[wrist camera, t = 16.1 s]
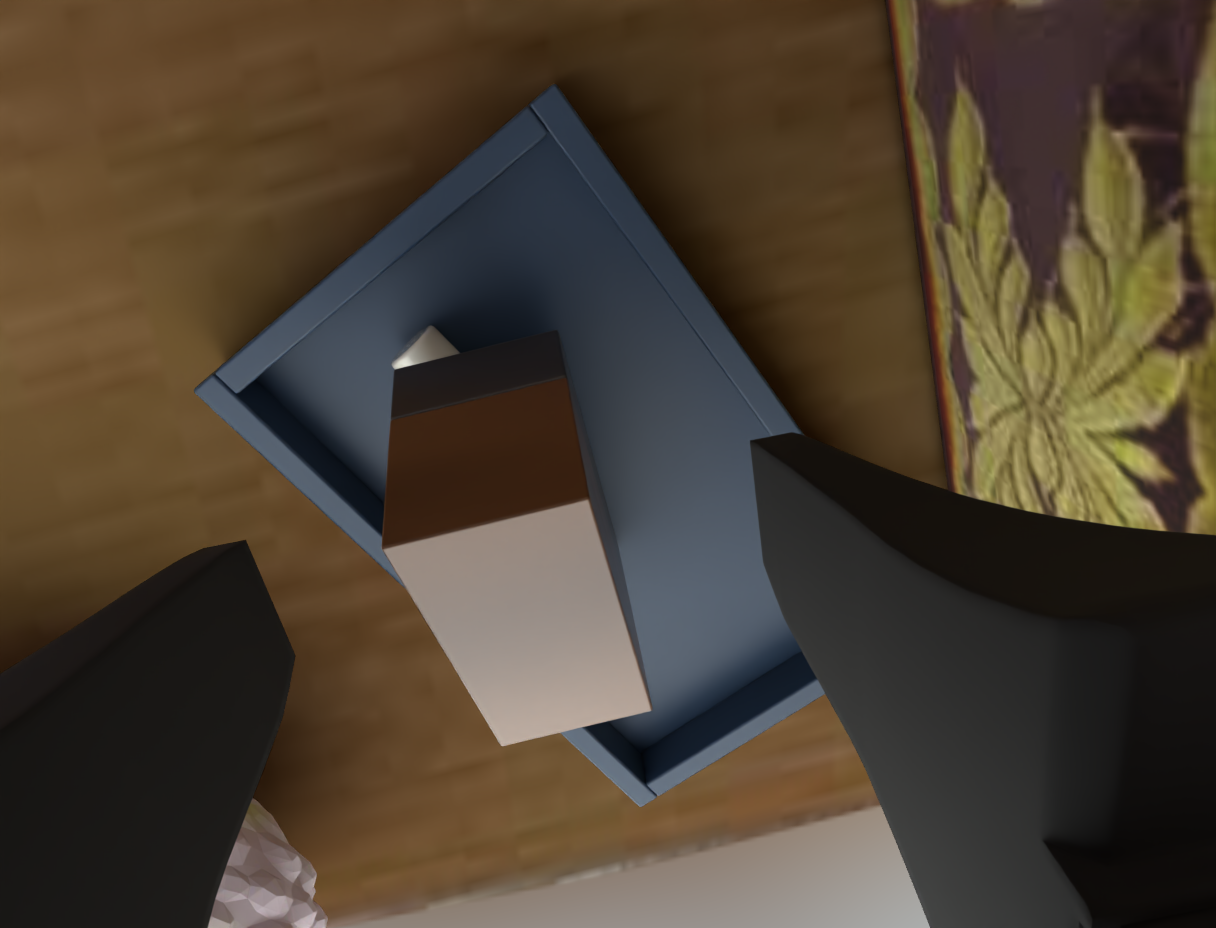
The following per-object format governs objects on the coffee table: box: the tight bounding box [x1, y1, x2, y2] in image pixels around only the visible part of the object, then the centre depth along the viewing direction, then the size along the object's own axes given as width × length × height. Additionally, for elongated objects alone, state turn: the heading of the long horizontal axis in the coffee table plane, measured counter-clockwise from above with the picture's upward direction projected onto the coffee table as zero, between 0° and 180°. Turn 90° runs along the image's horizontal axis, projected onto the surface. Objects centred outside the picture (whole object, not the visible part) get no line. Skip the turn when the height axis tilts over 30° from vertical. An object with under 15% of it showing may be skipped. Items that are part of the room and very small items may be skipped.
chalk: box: [391, 325, 460, 369], centre depth 17 cm, size 1×3×1 cm
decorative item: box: [208, 798, 328, 928], centre depth 19 cm, size 9×11×10 cm
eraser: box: [381, 330, 653, 746], centre depth 16 cm, size 6×3×4 cm, turn 13°
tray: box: [194, 84, 825, 807], centre depth 19 cm, size 9×15×2 cm, turn 37°
